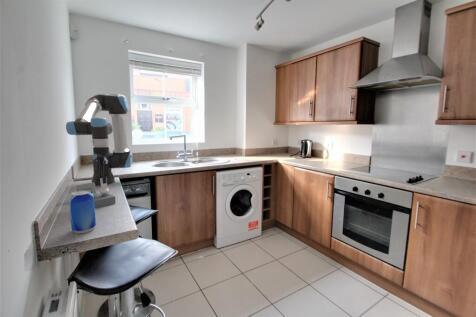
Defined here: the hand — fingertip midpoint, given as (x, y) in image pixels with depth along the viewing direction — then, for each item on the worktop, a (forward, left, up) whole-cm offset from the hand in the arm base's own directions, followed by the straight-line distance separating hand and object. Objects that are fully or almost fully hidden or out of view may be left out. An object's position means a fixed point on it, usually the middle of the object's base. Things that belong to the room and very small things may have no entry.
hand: (104, 188), depth 128 cm
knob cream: (0, 0, -5) cm, 5 cm away
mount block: (+3, 0, -8) cm, 9 cm away
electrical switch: (+4, -15, -8) cm, 18 cm away
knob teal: (+7, 0, -7) cm, 10 cm away
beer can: (+19, +30, -8) cm, 37 cm away
